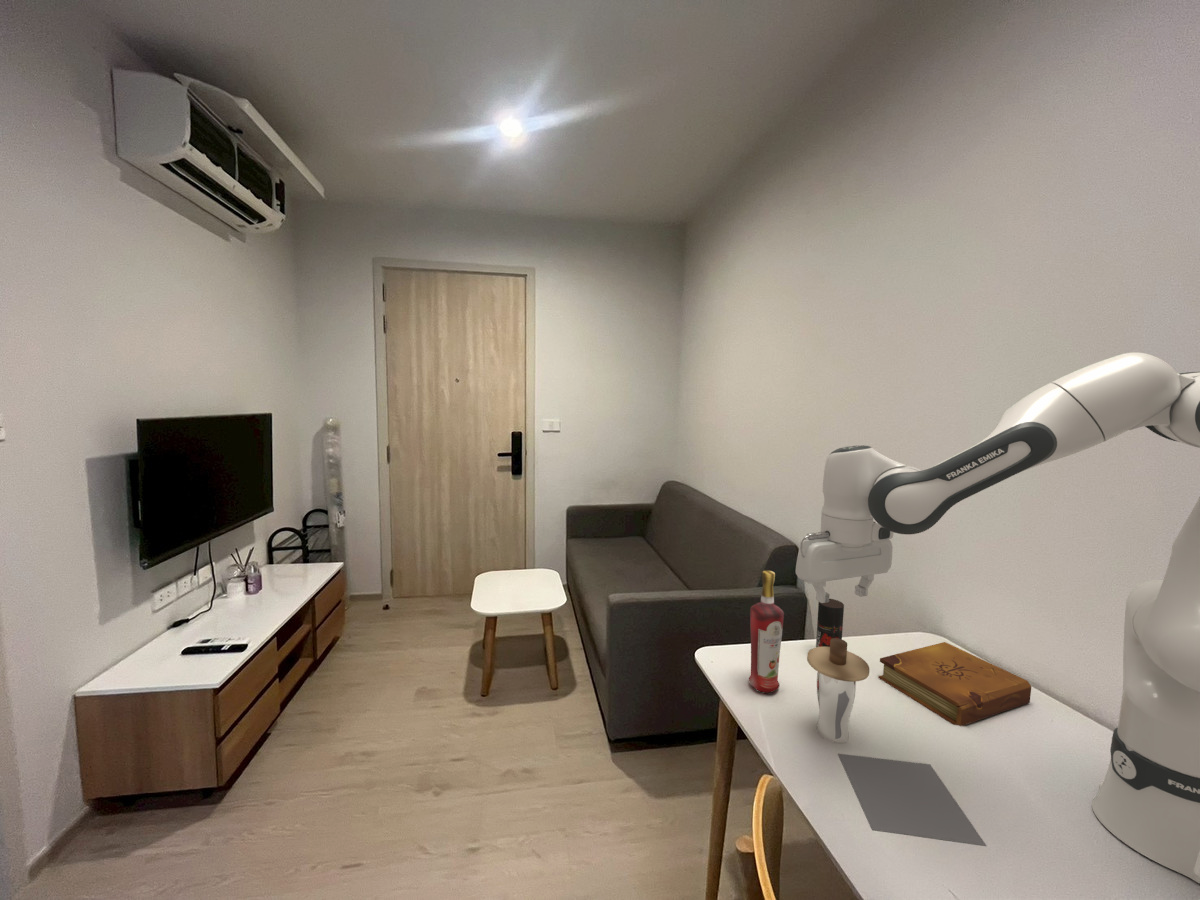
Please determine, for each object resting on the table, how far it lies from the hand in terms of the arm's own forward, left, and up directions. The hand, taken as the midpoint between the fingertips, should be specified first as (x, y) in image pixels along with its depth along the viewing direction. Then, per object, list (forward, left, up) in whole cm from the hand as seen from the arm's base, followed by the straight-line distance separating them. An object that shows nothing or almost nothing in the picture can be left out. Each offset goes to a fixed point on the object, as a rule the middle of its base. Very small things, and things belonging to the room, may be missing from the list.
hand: (842, 598), depth 91 cm
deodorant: (-8, -30, -29) cm, 43 cm away
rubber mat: (-7, +14, -29) cm, 33 cm away
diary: (-32, -20, -30) cm, 48 cm away
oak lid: (0, 0, -14) cm, 14 cm away
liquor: (+11, -14, -29) cm, 34 cm away
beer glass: (0, 0, -29) cm, 29 cm away
